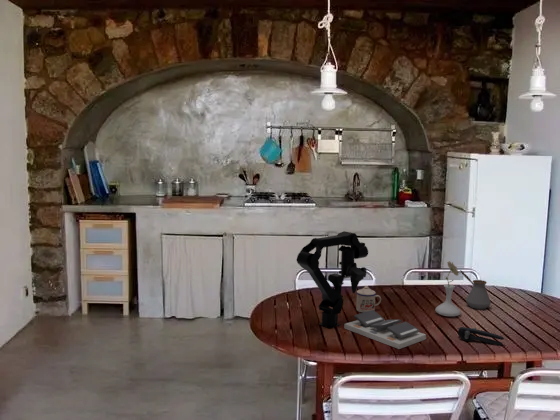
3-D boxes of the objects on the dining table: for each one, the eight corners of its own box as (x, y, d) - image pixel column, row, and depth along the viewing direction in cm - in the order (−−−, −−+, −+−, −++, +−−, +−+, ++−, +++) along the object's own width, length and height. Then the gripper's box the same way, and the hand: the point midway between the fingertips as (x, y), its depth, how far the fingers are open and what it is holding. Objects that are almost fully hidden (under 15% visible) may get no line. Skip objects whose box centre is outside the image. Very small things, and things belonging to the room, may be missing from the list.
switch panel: (398, 349, 210) (399, 340, 210) (344, 328, 232) (344, 320, 232) (425, 339, 221) (426, 331, 221) (371, 320, 244) (371, 313, 243)
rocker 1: (365, 326, 228) (366, 324, 227) (354, 316, 232) (354, 314, 232) (383, 321, 235) (384, 318, 235) (372, 311, 240) (373, 309, 240)
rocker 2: (382, 327, 220) (382, 325, 220) (370, 327, 226) (369, 325, 226) (401, 321, 228) (401, 319, 228) (388, 322, 233) (388, 319, 233)
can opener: (456, 341, 221) (456, 327, 220) (458, 335, 227) (459, 322, 226) (503, 349, 213) (504, 335, 213) (504, 343, 220) (505, 329, 219)
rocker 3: (400, 338, 214) (401, 336, 213) (387, 329, 219) (387, 327, 218) (418, 332, 221) (419, 329, 221) (405, 323, 226) (406, 321, 226)
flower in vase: (461, 319, 247) (465, 265, 244) (435, 317, 249) (439, 264, 246) (458, 310, 260) (461, 259, 257) (433, 308, 262) (436, 258, 259)
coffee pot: (495, 309, 263) (497, 279, 261) (475, 311, 260) (478, 280, 258) (467, 297, 283) (469, 269, 281) (448, 298, 280) (450, 270, 278)
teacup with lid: (359, 313, 252) (360, 289, 251) (353, 307, 261) (354, 284, 260) (383, 313, 254) (384, 288, 253) (377, 307, 263) (378, 283, 262)
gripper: (346, 266, 226) (345, 302, 229) (375, 260, 238) (374, 295, 240) (327, 261, 235) (326, 296, 237) (356, 256, 247) (355, 289, 249)
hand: (346, 294), depth 241 cm, fingers open, 9 cm apart
